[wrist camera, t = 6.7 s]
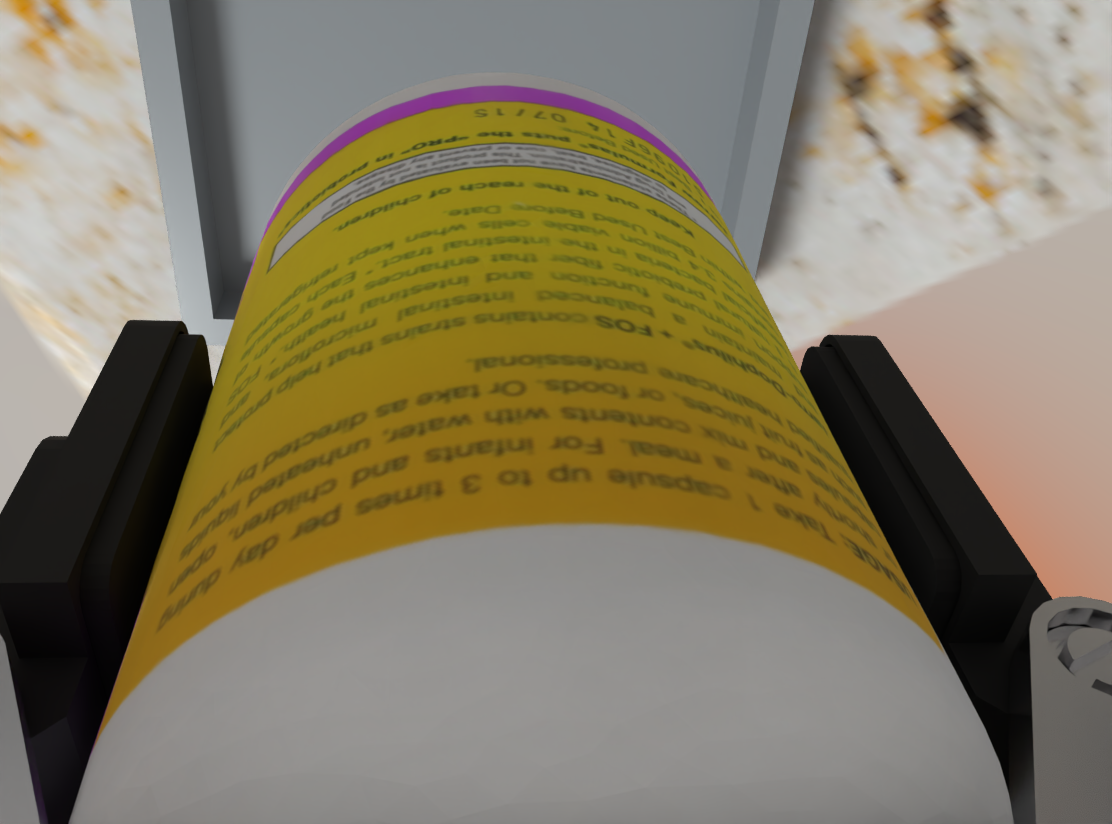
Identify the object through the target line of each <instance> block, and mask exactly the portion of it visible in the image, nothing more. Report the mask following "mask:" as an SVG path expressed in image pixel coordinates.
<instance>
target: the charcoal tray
mask: <svg viewBox="0 0 1112 824" xmlns="http://www.w3.org/2000/svg"><path fill="white" fill-rule="evenodd" d="M814 2H815V0H131V7H132V13H133V19H134V25H135V32H136V38H137V44H138V50H139V56H140V63H141V69H142V75H143V81H144V88H145V94H146V100H147V106H148V113H149V119H150V125H151V131H152V137H153V144H154V150H155V156H156V162H157V169H158V175H159V181H160V187H161V194H162V200H163V206H164V212H165V219H166V225H167V231H168V237H169V243H170V250H171V256H172V262H173V268H174V275H175V281H176V287H177V293H178V300H179V306H180V312H181V318H182V321H183V322H184V323H185V324H186V327H187V329H188V333H189V334H201V335H203V336H204V337H205V340H206V344H207V345H221V346H226V343H227V340H228V337H229V334H230V331H231V328H232V325H233V322H234V319H235V316H236V313H237V310H238V307H239V304H240V300H241V297H242V294H243V291H244V288H245V285H246V282H247V279H248V276H249V273H250V270H251V267H252V264H253V260H254V257H255V255H256V252H257V250H258V247H259V244H260V242H261V239H262V236H263V234H264V231H265V228H266V225H267V223H268V220H269V218H270V216H271V213H272V211H273V208H274V206H275V204H276V202H277V200H278V198H279V196H280V195H281V193H282V191H283V189H284V188H285V186H286V184H287V182H288V181H289V179H290V178H291V176H292V175H293V174H294V172H295V171H296V169H297V168H298V167H299V166H300V165H301V163H302V162H303V161H304V160H305V158H306V157H307V156H308V155H309V154H310V153H311V152H312V150H313V149H314V148H315V147H316V146H317V145H318V144H319V143H320V142H321V141H322V140H323V139H324V138H325V137H327V136H328V135H329V134H330V133H331V132H332V131H333V130H335V129H336V128H337V127H339V126H340V125H341V124H342V123H344V122H345V121H346V120H348V119H349V118H351V117H352V116H354V115H355V114H357V113H358V112H360V111H361V110H363V109H364V108H366V107H368V106H370V105H372V104H373V103H375V102H377V101H379V100H381V99H383V98H385V97H387V96H389V95H392V94H394V93H396V92H399V91H401V90H404V89H406V88H409V87H412V86H415V85H418V84H421V83H424V82H428V81H431V80H436V79H440V78H444V77H449V76H454V75H460V74H472V73H484V72H497V73H520V74H528V75H534V76H540V77H546V78H552V79H556V80H560V81H564V82H567V83H571V84H574V85H577V86H580V87H583V88H586V89H589V90H592V91H594V92H596V93H599V94H601V95H603V96H605V97H607V98H609V99H611V100H614V101H616V102H617V103H619V104H621V105H623V106H624V107H626V108H628V109H629V110H631V111H632V112H634V113H635V114H637V115H638V116H639V117H641V118H642V119H643V120H645V121H646V122H648V123H649V124H650V125H652V126H653V127H654V128H655V129H657V130H658V131H659V132H660V133H661V134H662V135H663V136H664V137H665V138H666V139H668V140H669V141H670V142H671V143H672V144H673V145H674V146H675V147H676V148H677V150H678V151H679V152H680V153H681V154H682V155H683V157H684V158H685V159H686V160H687V162H688V163H689V164H690V166H691V167H692V168H693V169H694V171H695V172H696V174H697V175H698V177H699V178H700V180H701V181H702V183H703V184H704V186H705V188H706V189H707V191H708V193H709V195H710V196H711V198H712V200H713V202H714V204H715V206H716V208H717V210H718V212H719V213H720V215H721V216H722V218H723V220H724V222H725V224H726V226H727V228H728V230H729V231H730V233H731V235H732V237H733V239H734V241H735V243H736V245H737V247H738V249H739V251H740V253H741V255H742V257H743V259H744V261H745V263H746V265H747V268H748V270H749V272H750V274H751V276H752V278H753V280H755V276H756V271H757V266H758V262H759V257H760V252H761V248H762V243H763V238H764V234H765V229H766V225H767V220H768V215H769V211H770V206H771V201H772V197H773V192H774V187H775V183H776V178H777V173H778V169H779V164H780V160H781V155H782V150H783V146H784V141H785V136H786V132H787V127H788V122H789V118H790V113H791V108H792V104H793V99H794V95H795V90H796V85H797V81H798V76H799V71H800V67H801V62H802V57H803V53H804V48H805V44H806V39H807V34H808V30H809V25H810V20H811V16H812V11H813V6H814Z"/></svg>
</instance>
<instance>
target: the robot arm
mask: <svg viewBox="0 0 1112 824" xmlns="http://www.w3.org/2000/svg"><path fill="white" fill-rule="evenodd" d="M800 373H801V374H802V376H803V378H804V380H805V382H806V384H807V386H808V388H809V390H810V392H811V394H812V396H813V398H814V400H815V402H816V404H817V406H818V408H819V410H820V412H821V414H822V416H823V418H824V420H825V422H826V424H827V426H828V428H829V430H830V432H831V434H832V436H833V438H834V440H835V441H836V443H837V445H838V447H839V449H840V451H841V453H842V455H843V457H844V459H845V461H846V463H847V465H848V467H849V469H850V471H851V473H852V475H853V476H854V478H855V480H856V482H857V484H858V486H859V488H860V490H861V492H862V494H863V496H864V498H865V500H866V502H867V504H868V506H869V508H870V509H871V511H872V513H873V515H874V517H875V519H876V521H877V523H878V525H879V527H880V529H881V531H882V533H883V535H884V537H885V539H886V541H887V542H888V544H889V546H890V548H891V550H892V552H893V554H894V556H895V558H896V560H897V562H898V564H899V566H900V568H901V570H902V572H903V573H904V575H905V577H906V579H907V581H908V583H909V585H910V586H911V588H912V590H913V592H914V594H915V596H916V598H917V600H918V601H919V603H920V605H921V607H922V609H923V611H924V613H925V615H926V616H927V618H928V620H929V622H930V624H931V626H932V628H933V629H934V631H935V633H936V635H937V637H938V639H939V641H940V643H941V644H942V646H943V648H944V650H945V652H946V654H947V656H948V658H949V660H950V662H951V664H952V666H953V668H954V669H955V671H956V673H957V675H958V677H959V679H960V681H961V683H962V685H963V687H964V689H965V691H966V693H967V695H968V696H969V698H970V700H971V702H972V704H973V706H974V708H975V710H976V712H977V714H978V716H979V718H980V720H981V722H982V723H983V725H984V727H985V730H986V732H987V734H988V737H989V739H990V741H991V744H992V746H993V748H994V751H995V753H996V755H997V758H998V760H999V762H1000V765H1001V769H1002V772H1003V776H1004V779H1005V782H1006V786H1007V789H1008V793H1009V797H1010V803H1011V809H1012V815H1013V820H1014V824H1112V604H1111V603H1109V602H1106V601H1102V600H1097V599H1092V598H1086V597H1081V596H1079V597H1059V598H1056V599H1052V598H1051V596H1050V595H1049V593H1048V592H1047V590H1046V589H1045V587H1044V586H1043V584H1042V583H1041V581H1040V580H1039V578H1038V577H1037V573H1036V572H1035V570H1034V569H1033V567H1032V566H1031V564H1030V563H1029V561H1028V560H1027V558H1026V557H1025V555H1024V554H1023V553H1022V551H1021V549H1020V548H1019V547H1018V545H1017V544H1016V542H1015V541H1014V539H1013V538H1012V536H1011V535H1010V533H1009V532H1008V530H1007V529H1006V527H1005V526H1004V524H1003V523H1002V521H1001V520H1000V518H999V517H998V515H997V514H996V512H995V511H994V509H993V508H992V506H991V505H990V503H989V502H988V500H987V499H986V497H985V496H984V494H983V493H982V491H981V490H980V488H979V487H978V485H977V484H976V482H975V481H974V480H973V478H972V477H971V475H970V474H969V472H968V471H967V469H966V468H965V466H964V465H963V463H962V462H961V460H960V459H959V457H958V456H957V454H956V453H955V451H954V450H953V448H952V447H951V445H950V444H949V442H948V441H947V439H946V438H945V436H944V435H943V433H942V432H941V430H940V429H939V427H938V426H937V424H936V423H935V421H934V420H933V419H932V417H931V415H930V414H929V412H928V411H927V409H926V408H925V407H924V405H923V404H922V402H921V401H920V399H919V398H918V396H917V395H916V393H915V392H914V390H913V389H912V387H911V386H910V384H909V383H908V382H907V380H906V378H905V377H904V375H903V374H902V372H901V371H900V369H899V368H898V366H897V365H896V363H895V362H894V360H893V359H892V357H891V356H890V355H889V353H888V351H887V350H886V348H885V347H884V346H883V344H882V342H881V341H880V340H879V339H878V338H877V337H876V336H858V335H827V336H826V337H824V339H823V340H822V342H821V343H820V346H819V347H810V348H808V349H807V351H806V353H805V355H804V358H803V362H802V366H801V370H800ZM212 389H213V383H212V377H211V370H210V363H209V356H208V349H207V344H206V340H205V337H204V336H203V335H201V334H189V333H188V329H187V327H186V324H185V323H184V322H183V321H152V320H130V321H128V322H127V323H126V324H125V326H124V328H123V330H122V332H121V334H120V336H119V338H118V340H117V341H116V343H115V345H114V347H113V349H112V351H111V353H110V355H109V357H108V359H107V361H106V363H105V365H104V367H103V369H102V371H101V373H100V375H99V377H98V379H97V381H96V383H95V384H94V386H93V388H92V390H91V392H90V394H89V396H88V398H87V400H86V402H85V404H84V406H83V408H82V410H81V412H80V414H79V416H78V418H77V420H76V422H75V424H74V426H73V428H72V429H71V432H70V434H69V435H68V436H50V437H48V438H45V439H43V440H42V441H41V443H40V444H39V445H38V447H37V448H36V449H35V451H34V453H33V455H32V457H31V459H30V460H29V462H28V464H27V466H26V468H25V470H24V471H23V474H22V475H21V477H20V479H19V481H18V483H17V484H16V486H15V488H14V490H13V492H12V493H11V495H10V497H9V499H8V501H7V503H6V505H5V506H4V508H3V510H2V512H1V514H0V824H69V820H70V817H71V814H72V811H73V808H74V805H75V802H76V798H77V795H78V792H79V789H80V786H81V783H82V780H83V776H84V773H85V770H86V767H87V764H88V761H89V758H90V754H91V751H92V748H93V746H94V743H95V740H96V737H97V734H98V731H99V728H100V725H101V722H102V719H103V716H104V714H105V711H106V708H107V705H108V702H109V699H110V696H111V693H112V690H113V687H114V684H115V682H116V679H117V676H118V673H119V670H120V667H121V664H122V661H123V658H124V655H125V653H126V650H127V647H128V644H129V641H130V638H131V635H132V632H133V628H134V625H135V622H136V619H137V616H138V613H139V610H140V606H141V603H142V600H143V597H144V594H145V591H146V588H147V584H148V581H149V578H150V575H151V572H152V569H153V566H154V562H155V560H156V557H157V554H158V551H159V548H160V545H161V542H162V539H163V536H164V534H165V531H166V528H167V525H168V522H169V519H170V516H171V514H172V510H173V507H174V504H175V501H176V497H177V494H178V491H179V488H180V485H181V482H182V479H183V476H184V473H185V471H186V468H187V465H188V462H189V459H190V456H191V453H192V450H193V447H194V444H195V441H196V438H197V436H198V433H199V430H200V426H201V423H202V419H203V416H204V412H205V409H206V406H207V403H208V400H209V397H210V395H211V392H212Z"/></svg>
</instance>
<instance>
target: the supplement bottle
mask: <svg viewBox="0 0 1112 824" xmlns="http://www.w3.org/2000/svg"><path fill="white" fill-rule="evenodd" d="M69 824H1014V820H1013V815H1012V809H1011V803H1010V797H1009V793H1008V789H1007V786H1006V782H1005V779H1004V776H1003V772H1002V769H1001V765H1000V762H999V760H998V758H997V755H996V753H995V751H994V748H993V746H992V744H991V741H990V739H989V737H988V734H987V732H986V730H985V727H984V725H983V723H982V722H981V720H980V718H979V716H978V714H977V712H976V710H975V708H974V706H973V704H972V702H971V700H970V698H969V696H968V695H967V693H966V691H965V689H964V687H963V685H962V683H961V681H960V679H959V677H958V675H957V673H956V671H955V669H954V668H953V666H952V664H951V662H950V660H949V658H948V656H947V654H946V652H945V650H944V648H943V646H942V644H941V643H940V641H939V639H938V637H937V635H936V633H935V631H934V629H933V628H932V626H931V624H930V622H929V620H928V618H927V616H926V615H925V613H924V611H923V609H922V607H921V605H920V603H919V601H918V600H917V598H916V596H915V594H914V592H913V590H912V588H911V586H910V585H909V583H908V581H907V579H906V577H905V575H904V573H903V572H902V570H901V568H900V566H899V564H898V562H897V560H896V558H895V556H894V554H893V552H892V550H891V548H890V546H889V544H888V542H887V541H886V539H885V537H884V535H883V533H882V531H881V529H880V527H879V525H878V523H877V521H876V519H875V517H874V515H873V513H872V511H871V509H870V508H869V506H868V504H867V502H866V500H865V498H864V496H863V494H862V492H861V490H860V488H859V486H858V484H857V482H856V480H855V478H854V476H853V475H852V473H851V471H850V469H849V467H848V465H847V463H846V461H845V459H844V457H843V455H842V453H841V451H840V449H839V447H838V445H837V443H836V441H835V440H834V438H833V436H832V434H831V432H830V430H829V428H828V426H827V424H826V422H825V420H824V418H823V416H822V414H821V412H820V410H819V408H818V406H817V404H816V402H815V400H814V398H813V396H812V394H811V392H810V390H809V388H808V386H807V384H806V382H805V380H804V378H803V376H802V374H801V373H800V371H799V369H798V367H797V365H796V363H795V361H794V359H793V357H792V355H791V353H790V351H789V349H788V347H787V345H786V343H785V341H784V339H783V337H782V335H781V333H780V331H779V329H778V327H777V325H776V323H775V321H774V319H773V317H772V315H771V313H770V311H769V309H768V307H767V305H766V303H765V301H764V299H763V297H762V295H761V293H760V291H759V289H758V287H757V286H756V284H755V282H754V280H753V278H752V276H751V274H750V272H749V270H748V268H747V265H746V263H745V261H744V259H743V257H742V255H741V253H740V251H739V249H738V247H737V245H736V243H735V241H734V239H733V237H732V235H731V233H730V231H729V230H728V228H727V226H726V224H725V222H724V220H723V218H722V216H721V215H720V213H719V212H718V210H717V208H716V206H715V204H714V202H713V200H712V198H711V196H710V195H709V193H708V191H707V189H706V188H705V186H704V184H703V183H702V181H701V180H700V178H699V177H698V175H697V174H696V172H695V171H694V169H693V168H692V167H691V166H690V164H689V163H688V162H687V160H686V159H685V158H684V157H683V155H682V154H681V153H680V152H679V151H678V150H677V148H676V147H675V146H674V145H673V144H672V143H671V142H670V141H669V140H668V139H666V138H665V137H664V136H663V135H662V134H661V133H660V132H659V131H658V130H657V129H655V128H654V127H653V126H652V125H650V124H649V123H648V122H646V121H645V120H643V119H642V118H641V117H639V116H638V115H637V114H635V113H634V112H632V111H631V110H629V109H628V108H626V107H624V106H623V105H621V104H619V103H617V102H616V101H614V100H611V99H609V98H607V97H605V96H603V95H601V94H599V93H596V92H594V91H592V90H589V89H586V88H583V87H580V86H577V85H574V84H571V83H567V82H564V81H560V80H556V79H552V78H546V77H540V76H534V75H528V74H520V73H497V72H484V73H472V74H460V75H454V76H449V77H444V78H440V79H436V80H431V81H428V82H424V83H421V84H418V85H415V86H412V87H409V88H406V89H404V90H401V91H399V92H396V93H394V94H392V95H389V96H387V97H385V98H383V99H381V100H379V101H377V102H375V103H373V104H372V105H370V106H368V107H366V108H364V109H363V110H361V111H360V112H358V113H357V114H355V115H354V116H352V117H351V118H349V119H348V120H346V121H345V122H344V123H342V124H341V125H340V126H339V127H337V128H336V129H335V130H333V131H332V132H331V133H330V134H329V135H328V136H327V137H325V138H324V139H323V140H322V141H321V142H320V143H319V144H318V145H317V146H316V147H315V148H314V149H313V150H312V152H311V153H310V154H309V155H308V156H307V157H306V158H305V160H304V161H303V162H302V163H301V165H300V166H299V167H298V168H297V169H296V171H295V172H294V174H293V175H292V176H291V178H290V179H289V181H288V182H287V184H286V186H285V188H284V189H283V191H282V193H281V195H280V196H279V198H278V200H277V202H276V204H275V206H274V208H273V211H272V213H271V216H270V218H269V220H268V223H267V225H266V228H265V231H264V234H263V236H262V239H261V242H260V244H259V247H258V250H257V252H256V255H255V257H254V260H253V264H252V267H251V270H250V273H249V276H248V279H247V282H246V285H245V288H244V291H243V294H242V297H241V300H240V304H239V307H238V310H237V313H236V316H235V319H234V322H233V325H232V328H231V331H230V334H229V337H228V340H227V343H226V346H225V349H224V353H223V356H222V359H221V363H220V366H219V369H218V373H217V376H216V379H215V383H214V386H213V389H212V392H211V395H210V397H209V400H208V403H207V406H206V409H205V412H204V416H203V419H202V423H201V426H200V430H199V433H198V436H197V438H196V441H195V444H194V447H193V450H192V453H191V456H190V459H189V462H188V465H187V468H186V471H185V473H184V476H183V479H182V482H181V485H180V488H179V491H178V494H177V497H176V501H175V504H174V507H173V510H172V514H171V516H170V519H169V522H168V525H167V528H166V531H165V534H164V536H163V539H162V542H161V545H160V548H159V551H158V554H157V557H156V560H155V562H154V566H153V569H152V572H151V575H150V578H149V581H148V584H147V588H146V591H145V594H144V597H143V600H142V603H141V606H140V610H139V613H138V616H137V619H136V622H135V625H134V628H133V632H132V635H131V638H130V641H129V644H128V647H127V650H126V653H125V655H124V658H123V661H122V664H121V667H120V670H119V673H118V676H117V679H116V682H115V684H114V687H113V690H112V693H111V696H110V699H109V702H108V705H107V708H106V711H105V714H104V716H103V719H102V722H101V725H100V728H99V731H98V734H97V737H96V740H95V743H94V746H93V748H92V751H91V754H90V758H89V761H88V764H87V767H86V770H85V773H84V776H83V780H82V783H81V786H80V789H79V792H78V795H77V798H76V802H75V805H74V808H73V811H72V814H71V817H70V820H69Z"/></svg>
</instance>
